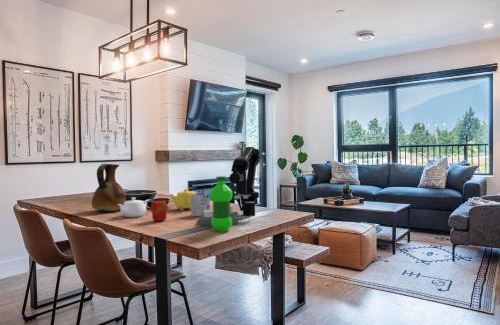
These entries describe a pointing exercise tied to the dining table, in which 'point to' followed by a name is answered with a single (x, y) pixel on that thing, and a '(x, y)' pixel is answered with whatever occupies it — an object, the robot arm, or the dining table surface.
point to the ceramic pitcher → (108, 190)
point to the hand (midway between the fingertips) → (241, 211)
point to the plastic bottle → (221, 205)
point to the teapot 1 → (133, 208)
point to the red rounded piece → (159, 210)
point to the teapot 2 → (183, 199)
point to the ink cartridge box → (199, 203)
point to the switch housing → (207, 220)
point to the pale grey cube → (208, 213)
